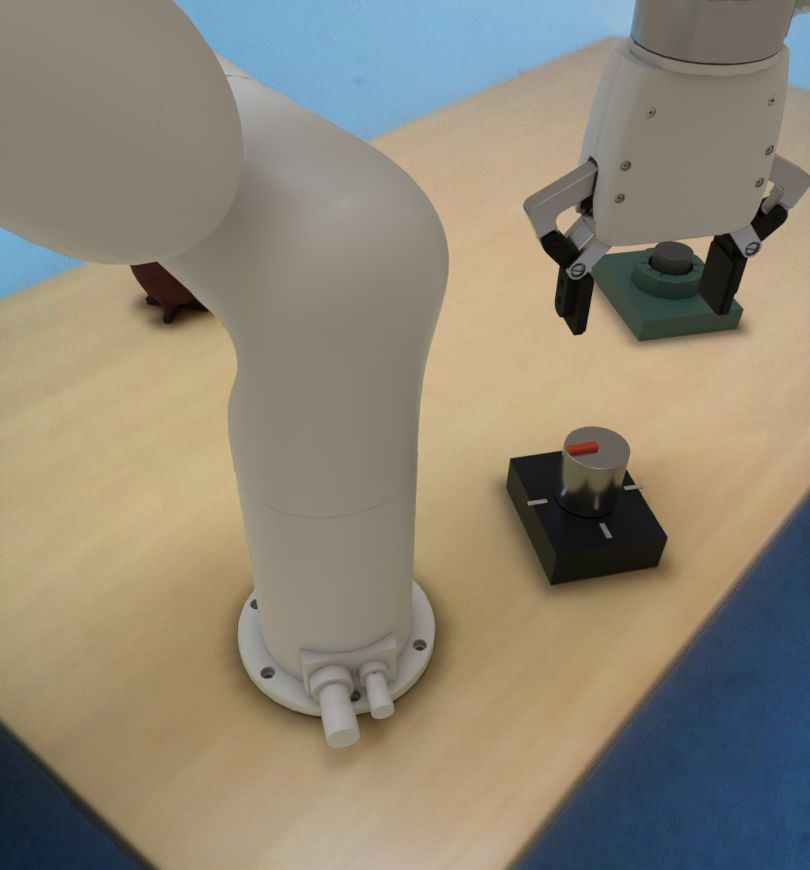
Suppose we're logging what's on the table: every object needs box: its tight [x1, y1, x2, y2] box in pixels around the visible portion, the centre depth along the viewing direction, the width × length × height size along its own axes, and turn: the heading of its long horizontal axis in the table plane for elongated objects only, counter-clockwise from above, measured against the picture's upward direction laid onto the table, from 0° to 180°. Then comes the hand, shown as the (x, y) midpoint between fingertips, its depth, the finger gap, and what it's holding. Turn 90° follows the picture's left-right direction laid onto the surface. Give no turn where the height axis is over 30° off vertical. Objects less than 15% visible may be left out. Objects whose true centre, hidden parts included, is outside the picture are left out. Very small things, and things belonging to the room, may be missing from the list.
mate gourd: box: [129, 261, 210, 325], centre depth 77 cm, size 8×8×15 cm
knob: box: [555, 425, 631, 517], centre depth 60 cm, size 4×4×5 cm
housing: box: [590, 246, 744, 342], centre depth 83 cm, size 12×10×4 cm
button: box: [651, 241, 695, 276], centre depth 82 cm, size 4×4×2 cm
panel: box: [505, 450, 669, 586], centre depth 63 cm, size 10×9×3 cm
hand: (642, 313), depth 56 cm, fingers open, 9 cm apart
